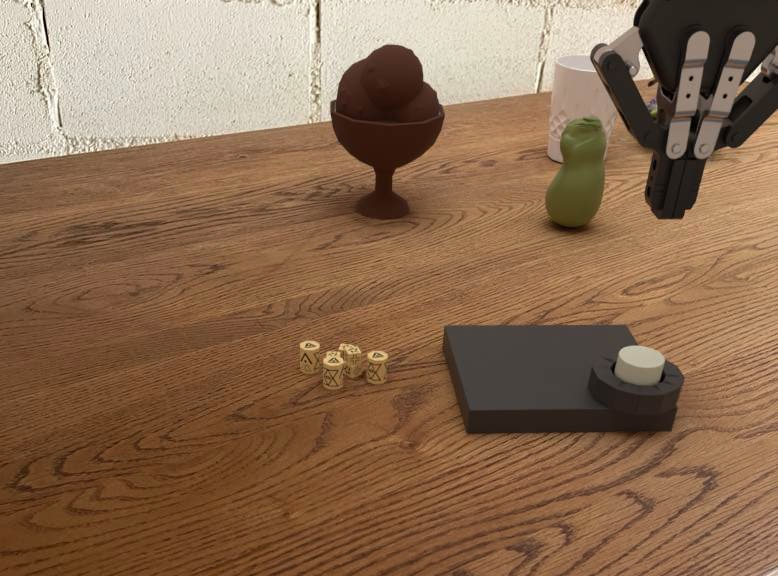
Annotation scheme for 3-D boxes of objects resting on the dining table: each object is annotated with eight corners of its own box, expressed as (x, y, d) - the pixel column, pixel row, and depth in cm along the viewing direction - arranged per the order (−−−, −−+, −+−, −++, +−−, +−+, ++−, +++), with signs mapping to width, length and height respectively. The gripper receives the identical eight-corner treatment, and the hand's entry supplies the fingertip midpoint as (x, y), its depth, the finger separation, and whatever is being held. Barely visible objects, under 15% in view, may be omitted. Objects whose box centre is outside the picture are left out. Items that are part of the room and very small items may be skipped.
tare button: (651, 365, 63) (656, 345, 62) (665, 388, 61) (671, 367, 60) (608, 365, 63) (613, 345, 62) (621, 388, 61) (626, 367, 60)
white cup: (527, 154, 108) (540, 59, 101) (570, 142, 112) (585, 50, 105) (581, 172, 103) (598, 75, 97) (623, 159, 107) (642, 65, 101)
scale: (626, 346, 72) (636, 304, 69) (682, 439, 62) (696, 393, 60) (442, 347, 70) (446, 304, 68) (469, 442, 61) (474, 396, 58)
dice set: (390, 382, 66) (392, 358, 65) (327, 398, 64) (327, 374, 63) (356, 351, 70) (357, 327, 68) (295, 366, 67) (294, 342, 66)
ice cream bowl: (456, 205, 94) (472, 41, 84) (396, 238, 87) (406, 62, 77) (370, 182, 98) (375, 23, 89) (306, 212, 91) (304, 42, 82)
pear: (583, 240, 88) (603, 129, 82) (532, 227, 90) (548, 118, 84) (604, 222, 92) (625, 115, 85) (554, 210, 94) (572, 105, 87)
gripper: (641, -121, 43) (577, 239, 55) (909, -113, 44) (792, 238, 56) (598, -135, 49) (548, 193, 60) (836, -129, 50) (744, 193, 61)
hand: (666, 214), depth 58 cm, fingers closed
